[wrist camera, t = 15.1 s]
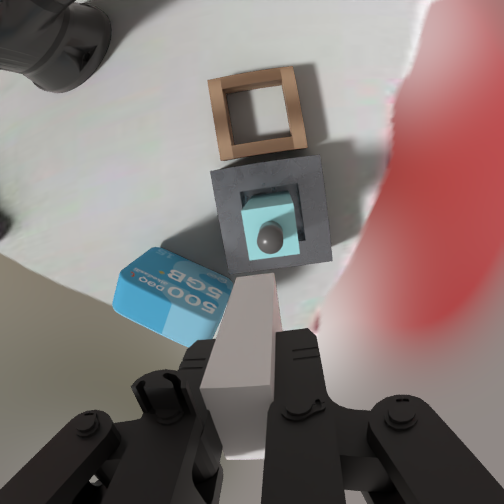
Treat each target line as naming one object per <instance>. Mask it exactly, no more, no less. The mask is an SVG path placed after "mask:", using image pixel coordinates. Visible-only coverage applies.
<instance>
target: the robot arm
mask: <svg viewBox="0 0 504 504" xmlns="http://www.w3.org/2000/svg"><path fill="white" fill-rule="evenodd" d="M74 1H76V0H0V70H6V71H11V72H16V73H21V74H23V75H24V76H26V77H27V78H29V79H30V80H32V82H33V83H34V84H35V85H36V86H37V87H38V88H40V89H42V90H44V91H49V92H53V93H63V92H67V91H70V90H72V89H74V88H76V87H77V86H79V85H80V84H82V83H83V82H84V81H85V80H87V79H88V78H89V77H90V76H91V75H92V73H93V72H94V71H95V70H96V68H97V67H98V66H99V64H100V63H101V61H102V59H103V57H104V56H105V53H106V51H107V49H108V46H109V42H110V37H111V25H110V21H109V19H108V17H107V15H106V14H105V13H104V12H103V11H101V10H100V9H98V8H97V7H95V6H93V5H91V4H85V3H75V2H74ZM131 388H132V391H133V393H134V394H135V397H136V399H137V401H138V403H139V405H140V407H141V409H142V411H143V415H142V417H141V419H137V420H132V421H125V422H118V423H113V421H112V420H111V418H110V416H109V415H108V414H107V413H105V412H104V411H99V410H91V411H86V412H83V413H81V414H78V415H77V416H76V417H74V418H73V419H72V420H71V421H70V422H68V424H66V425H65V426H64V427H63V428H62V429H61V430H60V431H59V432H58V433H57V434H56V435H55V436H54V437H53V438H52V439H51V440H50V441H49V442H48V443H47V444H46V445H45V446H44V447H43V448H42V449H41V450H40V451H39V452H38V453H37V454H36V455H35V456H34V457H33V458H32V459H31V460H30V461H29V462H28V463H27V464H26V465H25V466H24V467H23V468H22V469H21V470H20V471H19V472H18V473H17V474H16V475H15V476H14V477H13V478H11V480H10V481H9V482H7V484H6V485H5V486H4V487H2V489H0V504H219V498H220V493H221V487H222V481H223V469H222V466H221V464H220V458H221V453H222V450H223V452H224V455H225V457H226V459H228V460H229V459H230V460H233V459H234V460H241V459H264V471H263V484H262V497H261V504H346V500H345V493H344V490H354V491H361V492H362V494H363V496H364V498H365V500H366V502H367V504H504V489H503V488H502V486H501V485H500V484H499V483H498V482H497V481H496V480H495V478H494V477H493V476H492V475H491V474H490V473H489V471H488V470H487V469H486V468H485V467H484V466H483V465H482V463H481V462H480V461H479V460H478V459H477V458H476V457H475V456H474V454H473V453H472V452H471V451H470V450H469V449H468V448H467V447H466V445H464V443H463V442H462V441H461V440H460V439H459V438H458V437H457V435H456V434H455V433H454V432H453V431H452V430H451V429H450V428H449V427H448V425H446V423H445V422H444V421H443V420H442V419H441V418H440V417H439V416H438V414H437V413H436V412H435V411H434V410H433V409H432V408H431V407H430V406H429V405H428V404H427V403H426V402H424V401H423V400H422V399H420V398H418V397H414V396H411V395H394V396H391V397H387V398H385V399H383V400H382V401H380V402H378V403H377V404H376V405H375V406H374V407H373V409H372V410H371V411H367V410H354V409H347V408H345V407H342V406H339V405H338V404H336V403H335V402H333V401H332V400H331V399H330V397H329V396H328V394H327V391H326V386H325V380H324V375H323V369H322V364H321V358H320V353H319V348H318V342H317V337H316V335H315V334H314V333H312V332H311V331H310V330H309V329H308V328H305V329H297V330H289V331H283V330H282V323H281V316H280V309H279V302H278V295H277V289H276V282H275V275H274V273H267V274H259V275H251V276H243V277H236V280H235V283H234V286H233V289H232V292H231V295H230V298H229V301H228V304H227V307H226V310H225V313H224V316H223V319H222V322H221V325H220V328H219V331H218V334H217V337H216V339H206V340H197V341H196V342H194V343H193V344H192V345H191V346H190V347H189V348H188V349H187V351H186V353H185V355H184V357H183V361H182V362H181V364H180V366H179V370H178V371H175V370H167V369H165V370H158V371H153V372H151V373H148V374H145V375H144V376H142V377H140V378H139V379H137V380H136V381H135V382H134V383H133V385H132V386H131ZM93 475H95V476H96V477H97V478H98V479H99V480H98V481H96V482H95V483H90V482H89V480H90V479H91V477H92V476H93Z"/></svg>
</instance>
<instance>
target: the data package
mask: <svg viewBox="0 0 504 504" xmlns="http://www.w3.org/2000/svg"><path fill="white" fill-rule="evenodd" d="M232 288H233V283H232V281H231V280H230V279H229V278H227V277H225V276H223V275H221V274H219V273H216V272H214V271H212V270H210V269H207V268H205V267H203V266H201V265H199V264H196V263H194V262H192V261H190V260H187V259H185V258H183V257H181V256H179V255H177V254H174V253H172V252H170V251H168V250H166V249H163V248H159V247H153V248H151V249H150V250H148V251H147V252H145V253H144V254H143V255H141V256H140V257H139V258H137V259H136V260H135V261H133V262H132V263H131V264H129V265H128V266H127V267H125V268H124V269H123V270H121V272H120V274H119V278H118V282H117V286H116V290H115V295H114V299H113V303H112V305H113V308H114V310H115V311H116V312H117V313H119V314H120V315H122V316H124V317H126V318H128V319H130V320H132V321H134V322H136V323H138V324H140V325H142V326H144V327H146V328H148V329H150V330H152V331H154V332H156V333H158V334H160V335H162V336H165V337H167V338H169V339H171V340H173V341H175V342H177V343H180V344H182V345H184V346H186V347H188V348H189V347H190V346H191V345H192V344H193V343H194V342H196V341H197V340H206V339H212V338H213V336H214V334H215V332H216V330H217V327H218V325H219V323H220V321H221V319H222V316H223V313H224V310H225V308H226V305H227V302H228V299H229V296H230V293H231V291H232Z"/></svg>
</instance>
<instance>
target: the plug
mask: <svg viewBox="0 0 504 504" xmlns="http://www.w3.org/2000/svg"><path fill="white" fill-rule="evenodd" d="M241 214H242V219H243V225H244V231H245V237H246V243H247V249H248V254H249V260H257V259H265V258H272V257H280V256H288V255H295V254H300V250H299V242H298V234H297V227H296V219H295V212H294V205H293V201H292V199H291V196H290V193H289V191H281V192H273V193H267V194H260V195H253V196H252V197H251V198H250V199H249V201H248V202H247V203H246V205H245V206H244V207H243V209H242V210H241Z"/></svg>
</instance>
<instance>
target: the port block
mask: <svg viewBox="0 0 504 504" xmlns="http://www.w3.org/2000/svg"><path fill="white" fill-rule="evenodd" d="M210 173H211V179H212V185H213V190H214V196H215V201H216V207H217V212H218V218H219V223H220V229H221V234H222V239H223V245H224V250H225V255H226V260H227V265H228V271H229V274H237V273H245V272H253V271H261V270H269V269H276V268H284V267H292V266H299V265H307V264H314V263H321V262H329V261H332V250H331V240H330V230H329V220H328V212H327V203H326V195H325V187H324V180H323V173H322V165H321V159H320V155H313V156H304V157H297V158H289V159H282V160H275V161H268V162H261V163H255V164H249V165H242V166H237V167H231V168H225V169H219V170H214V171H210ZM281 191H289V193H290V196H291V199H292V201H293V205H294V212H295V219H296V227H297V234H298V242H299V250H300V254H295V255H288V256H280V257H272V258H265V259H257V260H249V254H248V249H247V243H246V237H245V231H244V225H243V219H242V214H241V210H242V209H243V207H244V206H245V205H246V203H247V202H248V201H249V199H250V198H251V197H252V196H253V195H260V194H267V193H273V192H281Z"/></svg>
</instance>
